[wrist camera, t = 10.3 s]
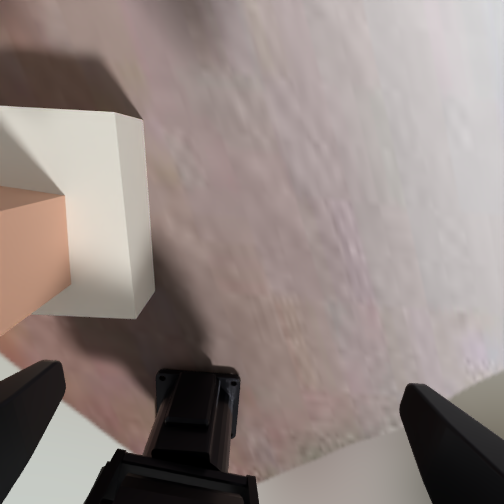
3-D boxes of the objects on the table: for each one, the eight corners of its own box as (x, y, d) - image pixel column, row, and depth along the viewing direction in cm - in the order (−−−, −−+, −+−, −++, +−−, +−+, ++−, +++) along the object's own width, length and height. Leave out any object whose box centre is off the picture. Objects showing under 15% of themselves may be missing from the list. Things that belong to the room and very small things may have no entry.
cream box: (157, 287, 20) (135, 319, 17) (3, 280, 20) (-54, 310, 17) (145, 120, 17) (114, 112, 13) (-44, 109, 17) (-131, 98, 13)
